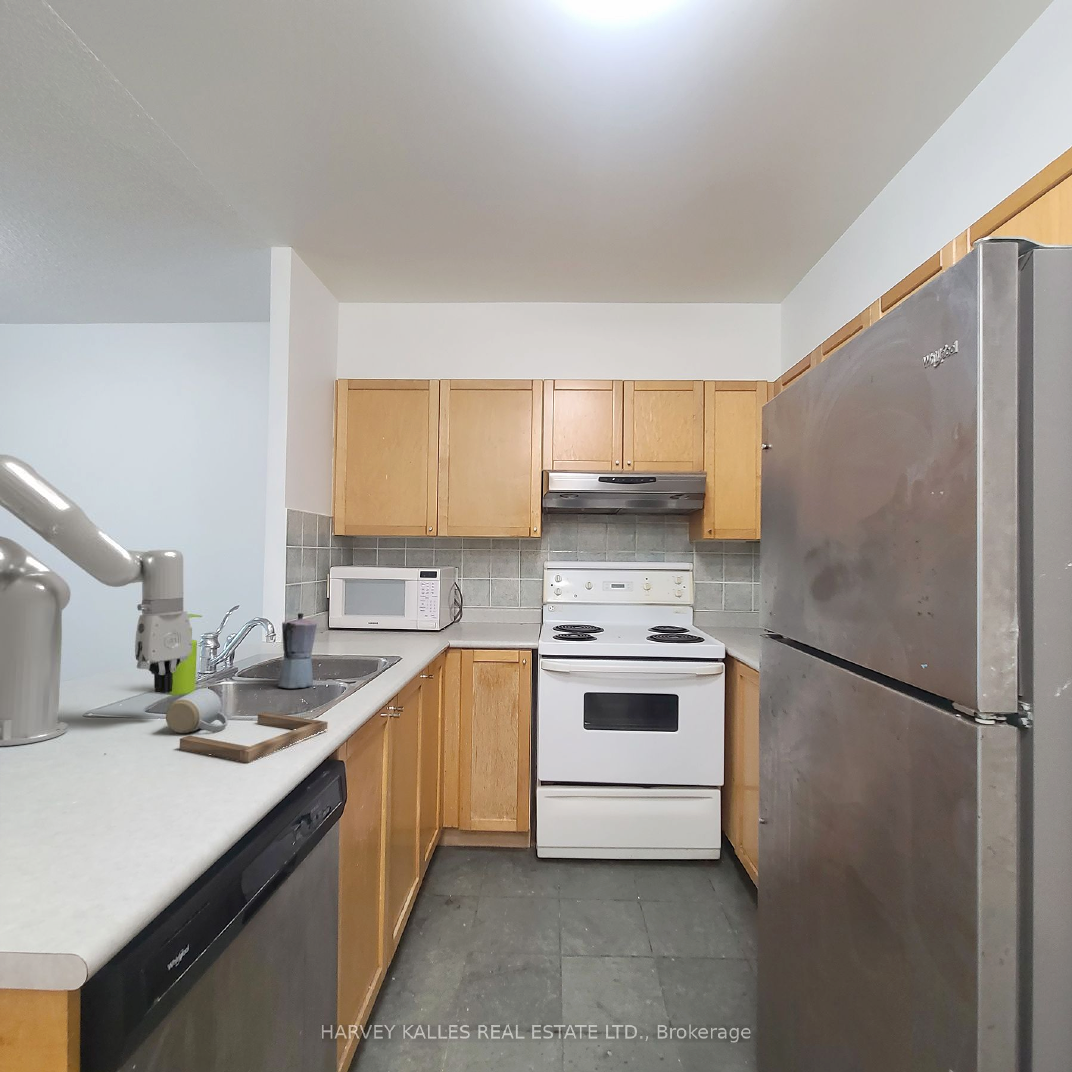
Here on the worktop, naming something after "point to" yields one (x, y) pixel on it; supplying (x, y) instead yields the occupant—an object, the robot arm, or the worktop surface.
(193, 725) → the ceramic mug
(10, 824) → the worktop surface
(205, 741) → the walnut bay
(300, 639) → the moka pot
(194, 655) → the soap dispenser
